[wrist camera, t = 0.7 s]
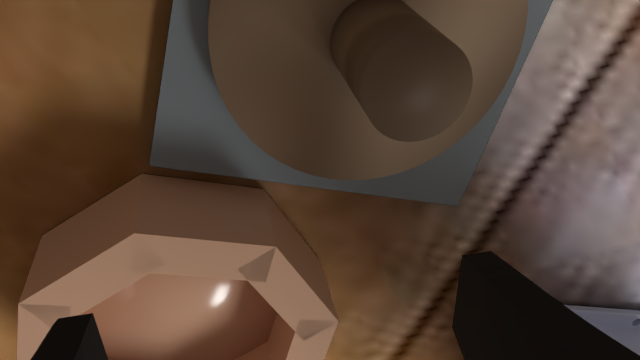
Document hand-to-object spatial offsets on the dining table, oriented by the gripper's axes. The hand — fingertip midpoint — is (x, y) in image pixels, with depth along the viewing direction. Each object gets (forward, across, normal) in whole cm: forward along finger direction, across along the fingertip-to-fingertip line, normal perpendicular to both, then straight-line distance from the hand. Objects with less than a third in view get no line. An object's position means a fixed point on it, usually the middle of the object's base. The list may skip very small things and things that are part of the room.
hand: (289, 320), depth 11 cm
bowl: (+10, +3, +8) cm, 13 cm away
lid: (+9, -4, -3) cm, 10 cm away
